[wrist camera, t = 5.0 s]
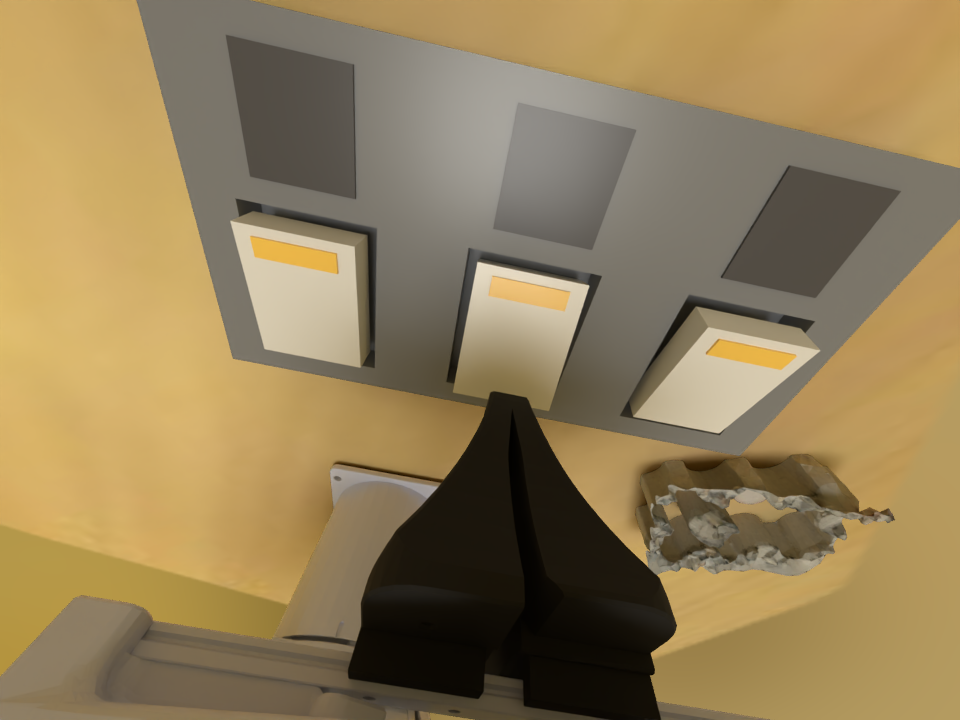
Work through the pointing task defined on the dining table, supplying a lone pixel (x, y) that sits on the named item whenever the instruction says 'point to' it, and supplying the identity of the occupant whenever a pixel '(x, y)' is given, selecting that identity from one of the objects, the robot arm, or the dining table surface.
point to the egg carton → (746, 516)
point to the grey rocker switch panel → (528, 202)
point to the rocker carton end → (718, 369)
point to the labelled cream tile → (307, 287)
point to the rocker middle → (518, 332)
